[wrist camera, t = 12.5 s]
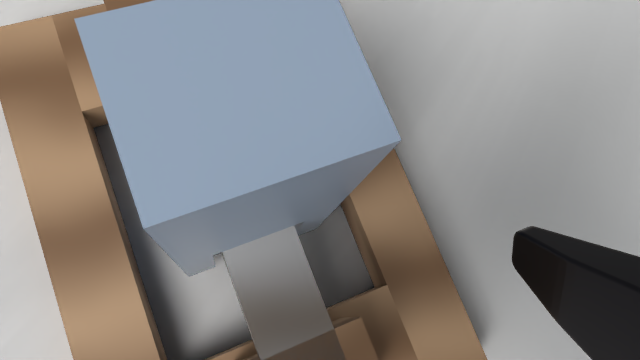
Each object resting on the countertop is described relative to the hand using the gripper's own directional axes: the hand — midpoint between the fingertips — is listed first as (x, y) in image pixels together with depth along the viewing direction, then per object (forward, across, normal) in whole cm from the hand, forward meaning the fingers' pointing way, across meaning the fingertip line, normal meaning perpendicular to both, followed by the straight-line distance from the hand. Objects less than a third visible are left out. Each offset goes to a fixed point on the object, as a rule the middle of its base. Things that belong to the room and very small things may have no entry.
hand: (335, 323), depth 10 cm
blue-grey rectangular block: (+13, 0, +4) cm, 13 cm away
